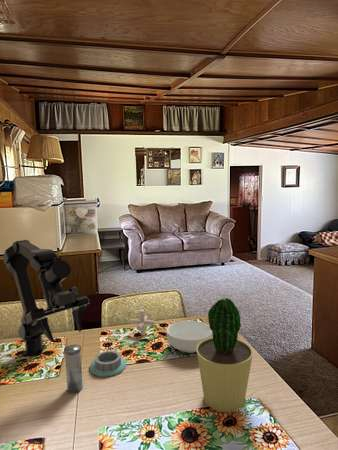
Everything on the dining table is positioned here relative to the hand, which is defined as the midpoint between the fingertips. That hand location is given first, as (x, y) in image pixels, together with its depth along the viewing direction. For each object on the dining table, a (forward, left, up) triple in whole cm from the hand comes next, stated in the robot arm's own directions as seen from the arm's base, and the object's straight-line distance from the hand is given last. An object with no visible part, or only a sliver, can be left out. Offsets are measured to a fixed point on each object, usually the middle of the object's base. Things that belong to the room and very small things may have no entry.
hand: (66, 336), depth 102 cm
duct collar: (-7, +11, -15) cm, 20 cm away
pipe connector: (-29, +23, -15) cm, 40 cm away
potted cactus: (+14, +45, -15) cm, 50 cm away
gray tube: (+4, +2, -15) cm, 16 cm away
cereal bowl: (-16, +40, -15) cm, 46 cm away
